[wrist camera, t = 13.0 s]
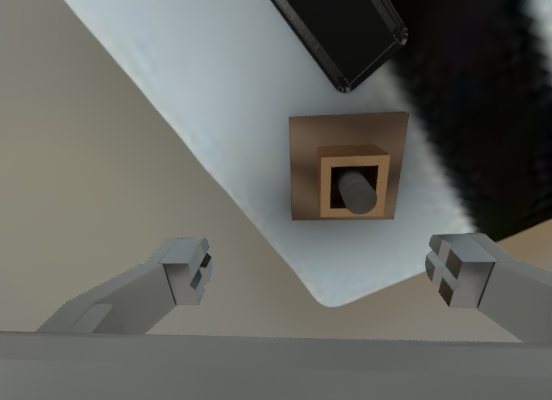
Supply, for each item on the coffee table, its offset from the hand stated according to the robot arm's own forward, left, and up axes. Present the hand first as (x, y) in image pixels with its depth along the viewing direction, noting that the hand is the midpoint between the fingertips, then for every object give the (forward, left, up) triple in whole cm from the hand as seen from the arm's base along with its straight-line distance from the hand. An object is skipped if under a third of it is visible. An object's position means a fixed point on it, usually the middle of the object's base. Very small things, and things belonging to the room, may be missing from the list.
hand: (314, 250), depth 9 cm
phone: (-13, +3, -22) cm, 25 cm away
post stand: (+3, +5, -21) cm, 22 cm away
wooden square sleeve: (+3, +5, -20) cm, 20 cm away
